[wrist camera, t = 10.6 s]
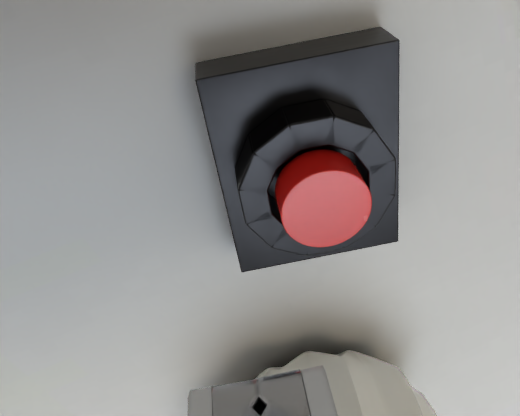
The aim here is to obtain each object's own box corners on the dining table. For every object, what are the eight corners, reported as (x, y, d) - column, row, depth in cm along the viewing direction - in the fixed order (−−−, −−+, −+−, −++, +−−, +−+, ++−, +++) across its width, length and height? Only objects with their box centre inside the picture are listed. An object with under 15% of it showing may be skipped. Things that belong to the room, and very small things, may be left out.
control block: (195, 62, 20) (195, 96, 17) (381, 26, 20) (418, 52, 17) (238, 245, 26) (244, 298, 22) (383, 217, 26) (411, 264, 22)
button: (268, 158, 19) (274, 180, 17) (357, 140, 19) (371, 161, 17) (280, 230, 21) (286, 255, 19) (361, 214, 21) (373, 238, 19)
